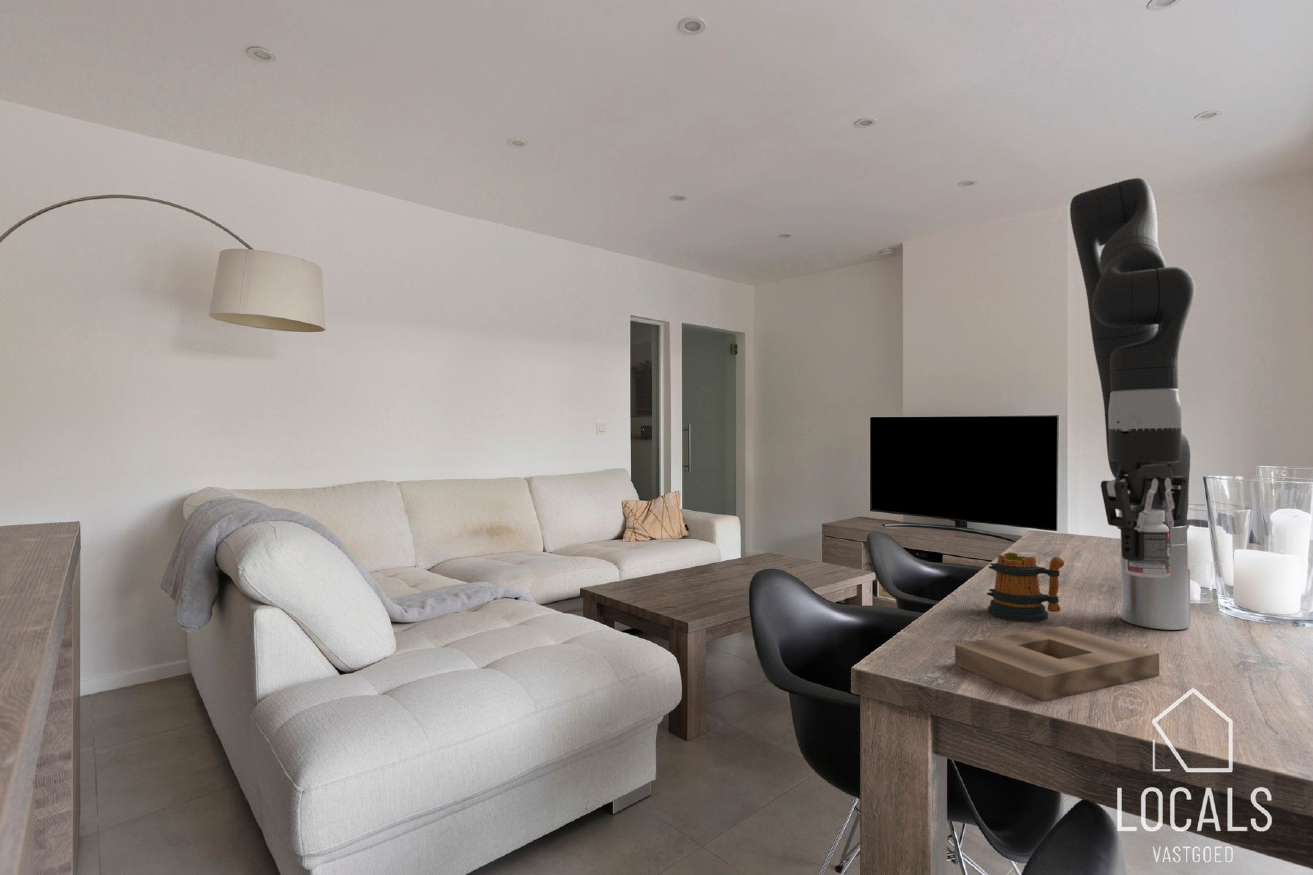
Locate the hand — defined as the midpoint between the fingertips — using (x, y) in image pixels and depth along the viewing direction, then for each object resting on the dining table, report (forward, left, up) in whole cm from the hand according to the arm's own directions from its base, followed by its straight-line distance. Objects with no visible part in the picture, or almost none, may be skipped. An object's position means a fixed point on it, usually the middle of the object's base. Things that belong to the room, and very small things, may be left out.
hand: (1146, 557), depth 84 cm
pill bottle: (0, 0, -2) cm, 2 cm away
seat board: (+4, -10, -17) cm, 20 cm away
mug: (-16, -31, -17) cm, 39 cm away
